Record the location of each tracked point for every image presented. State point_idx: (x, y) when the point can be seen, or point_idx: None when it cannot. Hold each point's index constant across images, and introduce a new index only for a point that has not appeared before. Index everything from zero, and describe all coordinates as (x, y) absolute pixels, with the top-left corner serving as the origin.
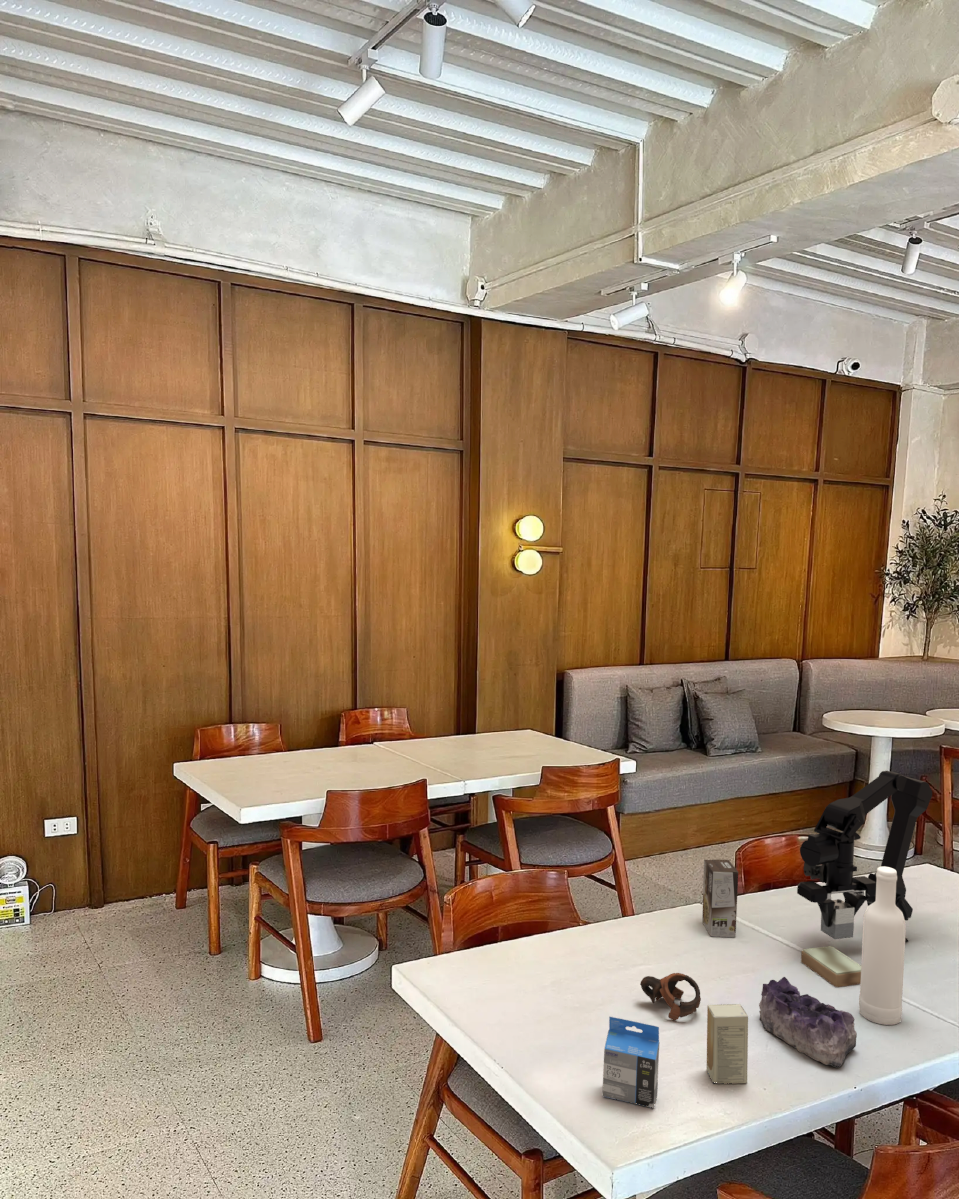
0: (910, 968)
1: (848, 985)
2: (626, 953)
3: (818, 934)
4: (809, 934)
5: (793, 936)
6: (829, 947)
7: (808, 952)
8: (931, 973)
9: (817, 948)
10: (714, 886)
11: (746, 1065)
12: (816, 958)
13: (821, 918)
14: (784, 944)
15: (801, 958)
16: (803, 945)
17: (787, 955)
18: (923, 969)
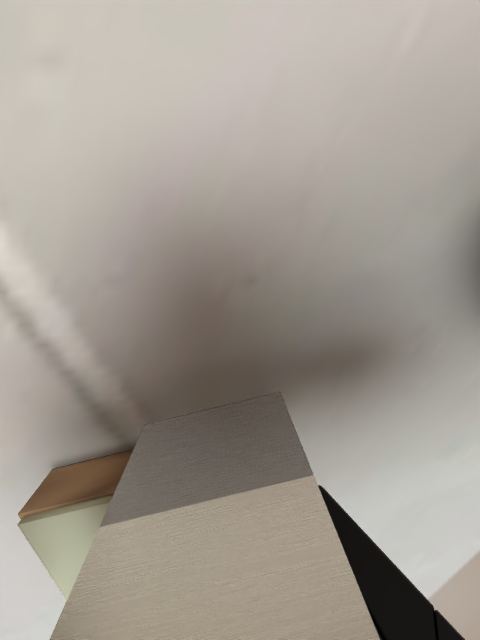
0: (431, 487)
1: None
2: None
3: (232, 198)
4: (182, 197)
5: (83, 222)
6: None
7: (38, 547)
8: (471, 511)
9: (95, 511)
10: None
11: None
12: (61, 588)
13: (112, 505)
14: (12, 317)
15: (43, 483)
16: (107, 326)
17: (6, 420)
18: (467, 491)
